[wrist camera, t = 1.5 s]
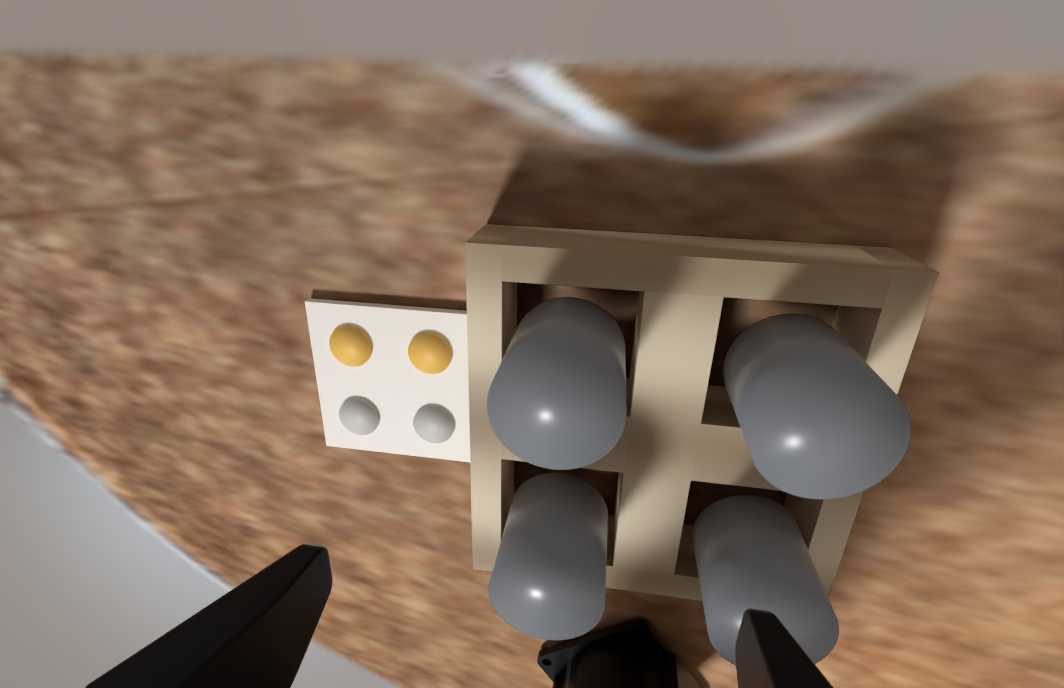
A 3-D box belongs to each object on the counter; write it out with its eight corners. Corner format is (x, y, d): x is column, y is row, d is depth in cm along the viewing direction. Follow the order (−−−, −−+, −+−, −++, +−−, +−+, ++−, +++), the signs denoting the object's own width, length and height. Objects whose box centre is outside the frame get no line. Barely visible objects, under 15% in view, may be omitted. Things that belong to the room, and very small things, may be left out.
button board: (798, 559, 24) (821, 617, 21) (488, 520, 26) (472, 569, 23) (891, 247, 18) (938, 272, 16) (486, 224, 20) (465, 242, 17)
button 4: (603, 555, 22) (600, 647, 18) (511, 543, 22) (488, 630, 19) (612, 478, 20) (609, 562, 17) (511, 467, 21) (488, 546, 17)
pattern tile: (477, 457, 24) (474, 464, 24) (330, 440, 25) (324, 447, 25) (475, 311, 22) (471, 316, 21) (309, 298, 22) (302, 302, 22)
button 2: (619, 404, 19) (619, 476, 15) (513, 393, 19) (487, 461, 16) (630, 301, 17) (633, 354, 14) (514, 293, 18) (486, 342, 14)
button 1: (831, 425, 18) (886, 507, 14) (714, 413, 19) (737, 490, 15) (863, 318, 17) (932, 380, 13) (733, 309, 17) (765, 365, 13)
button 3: (786, 579, 21) (821, 682, 17) (685, 566, 21) (698, 663, 18) (809, 501, 19) (853, 595, 16) (700, 488, 20) (718, 576, 16)
